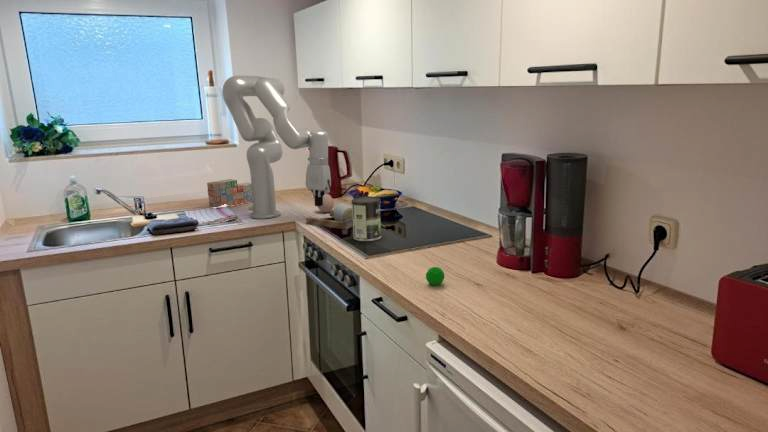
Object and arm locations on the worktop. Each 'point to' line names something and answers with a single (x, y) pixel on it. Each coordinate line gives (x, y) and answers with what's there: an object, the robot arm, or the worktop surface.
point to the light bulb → (342, 212)
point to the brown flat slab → (330, 222)
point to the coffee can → (366, 218)
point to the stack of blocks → (229, 192)
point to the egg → (327, 204)
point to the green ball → (435, 276)
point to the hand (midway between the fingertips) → (318, 205)
